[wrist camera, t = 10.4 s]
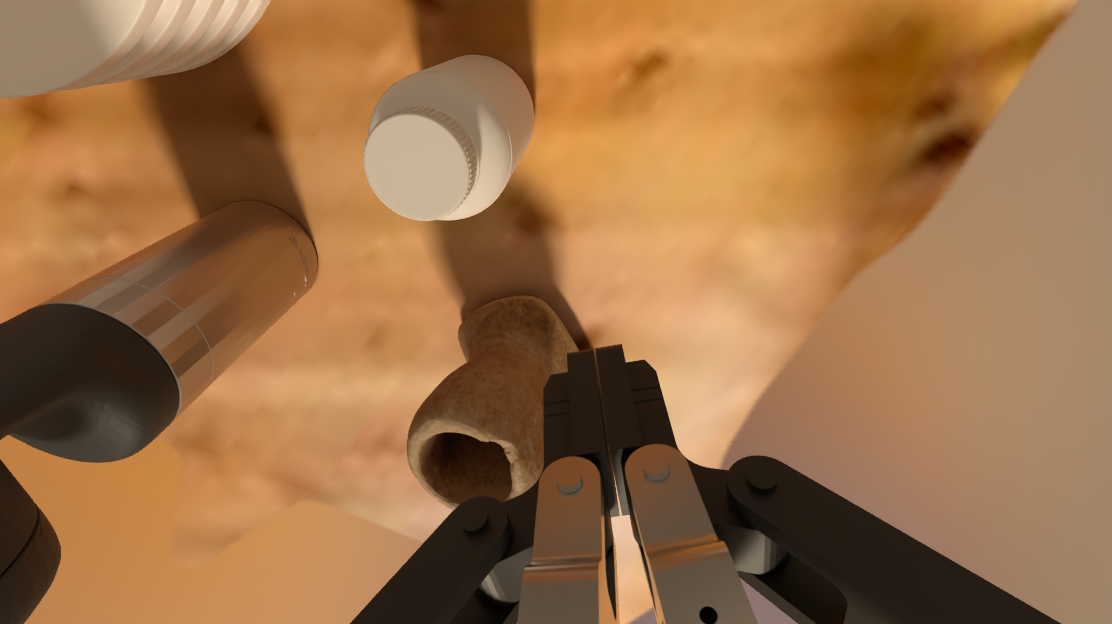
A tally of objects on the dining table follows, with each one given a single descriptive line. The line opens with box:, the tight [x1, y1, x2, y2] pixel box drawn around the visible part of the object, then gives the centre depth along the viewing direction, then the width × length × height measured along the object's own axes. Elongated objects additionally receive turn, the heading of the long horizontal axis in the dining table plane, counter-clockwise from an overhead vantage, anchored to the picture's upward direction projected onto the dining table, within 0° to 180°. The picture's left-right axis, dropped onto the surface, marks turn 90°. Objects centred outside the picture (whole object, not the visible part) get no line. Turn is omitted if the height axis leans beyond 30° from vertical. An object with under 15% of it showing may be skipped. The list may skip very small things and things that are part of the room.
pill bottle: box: [363, 55, 534, 221], centre depth 32 cm, size 8×8×15 cm
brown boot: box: [407, 295, 579, 510], centre depth 43 cm, size 15×12×15 cm
